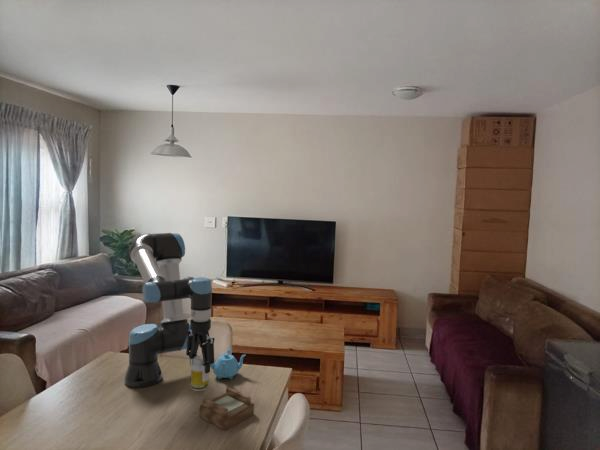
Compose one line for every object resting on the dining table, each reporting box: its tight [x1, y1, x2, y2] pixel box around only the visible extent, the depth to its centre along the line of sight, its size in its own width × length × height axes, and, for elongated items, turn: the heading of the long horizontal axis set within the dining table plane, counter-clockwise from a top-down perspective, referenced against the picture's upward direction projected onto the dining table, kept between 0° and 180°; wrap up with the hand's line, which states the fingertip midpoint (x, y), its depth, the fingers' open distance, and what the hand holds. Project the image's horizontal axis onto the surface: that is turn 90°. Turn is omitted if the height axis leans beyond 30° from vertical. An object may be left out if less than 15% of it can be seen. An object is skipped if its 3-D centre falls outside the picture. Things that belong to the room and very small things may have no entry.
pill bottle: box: [190, 355, 209, 392], centre depth 155 cm, size 6×6×12 cm
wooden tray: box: [198, 387, 255, 431], centre depth 149 cm, size 14×14×6 cm
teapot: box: [210, 346, 246, 380], centre depth 181 cm, size 13×13×10 cm
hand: (199, 377), depth 155 cm, fingers closed on pill bottle, 6 cm apart
